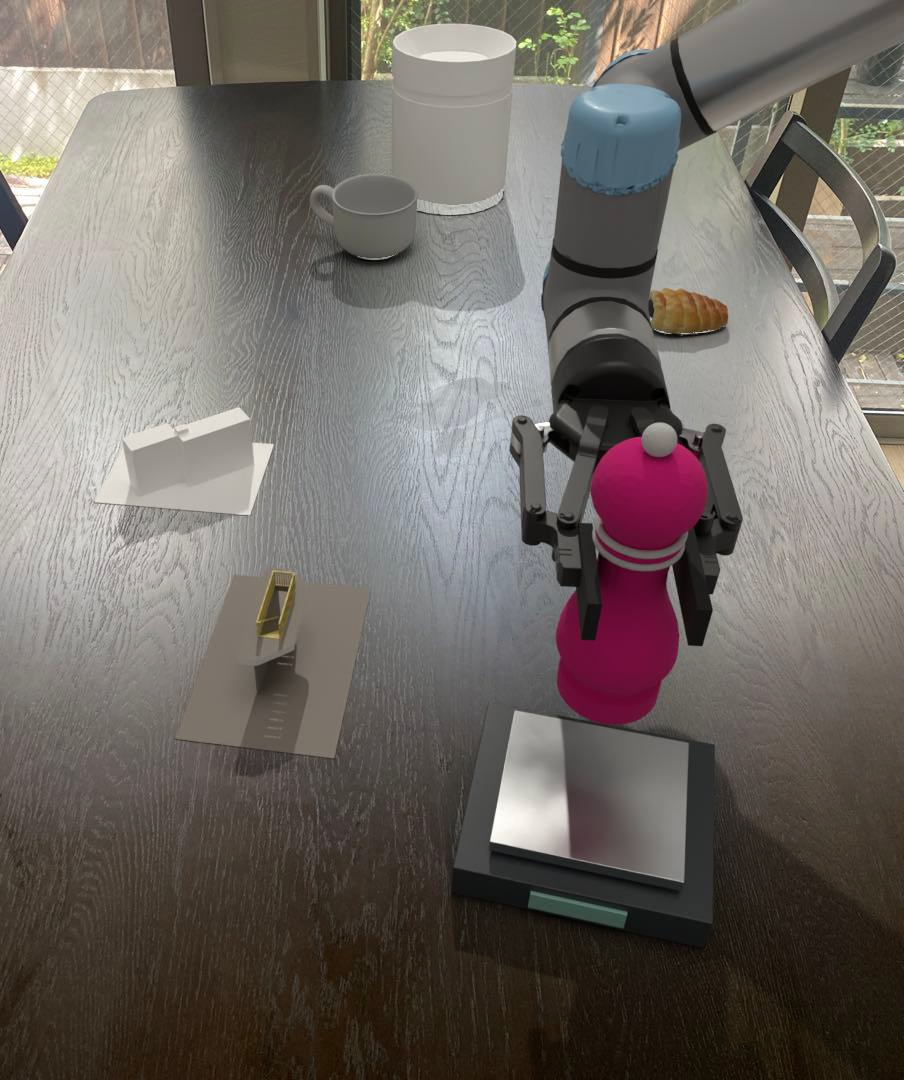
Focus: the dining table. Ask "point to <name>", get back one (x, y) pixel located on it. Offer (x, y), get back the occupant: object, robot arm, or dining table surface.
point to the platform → (278, 666)
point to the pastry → (685, 312)
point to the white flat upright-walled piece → (190, 466)
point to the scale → (578, 889)
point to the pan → (594, 800)
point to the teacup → (370, 213)
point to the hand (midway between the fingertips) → (645, 624)
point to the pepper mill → (632, 577)
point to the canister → (452, 110)
